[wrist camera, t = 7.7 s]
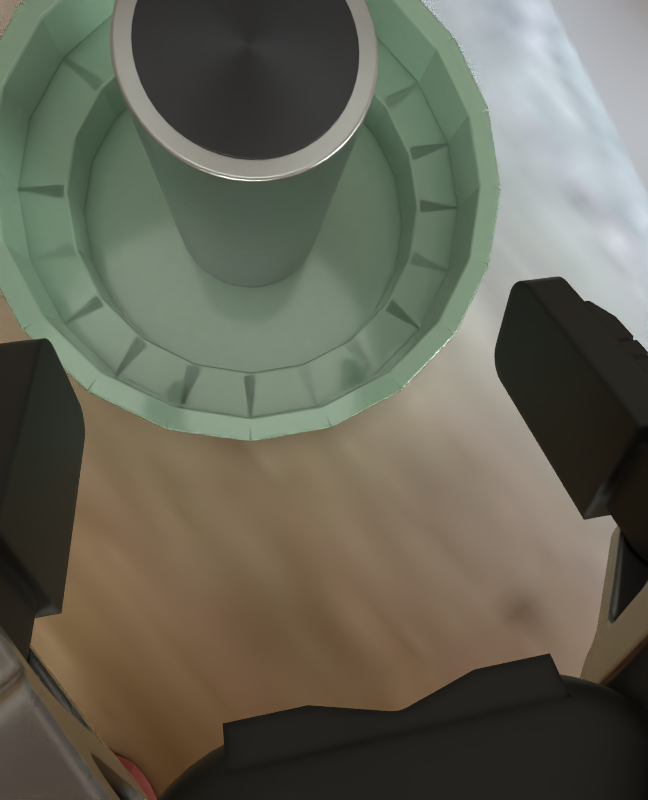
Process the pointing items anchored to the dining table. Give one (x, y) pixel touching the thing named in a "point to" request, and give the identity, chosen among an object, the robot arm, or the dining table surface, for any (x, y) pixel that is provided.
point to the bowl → (210, 297)
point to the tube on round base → (246, 119)
